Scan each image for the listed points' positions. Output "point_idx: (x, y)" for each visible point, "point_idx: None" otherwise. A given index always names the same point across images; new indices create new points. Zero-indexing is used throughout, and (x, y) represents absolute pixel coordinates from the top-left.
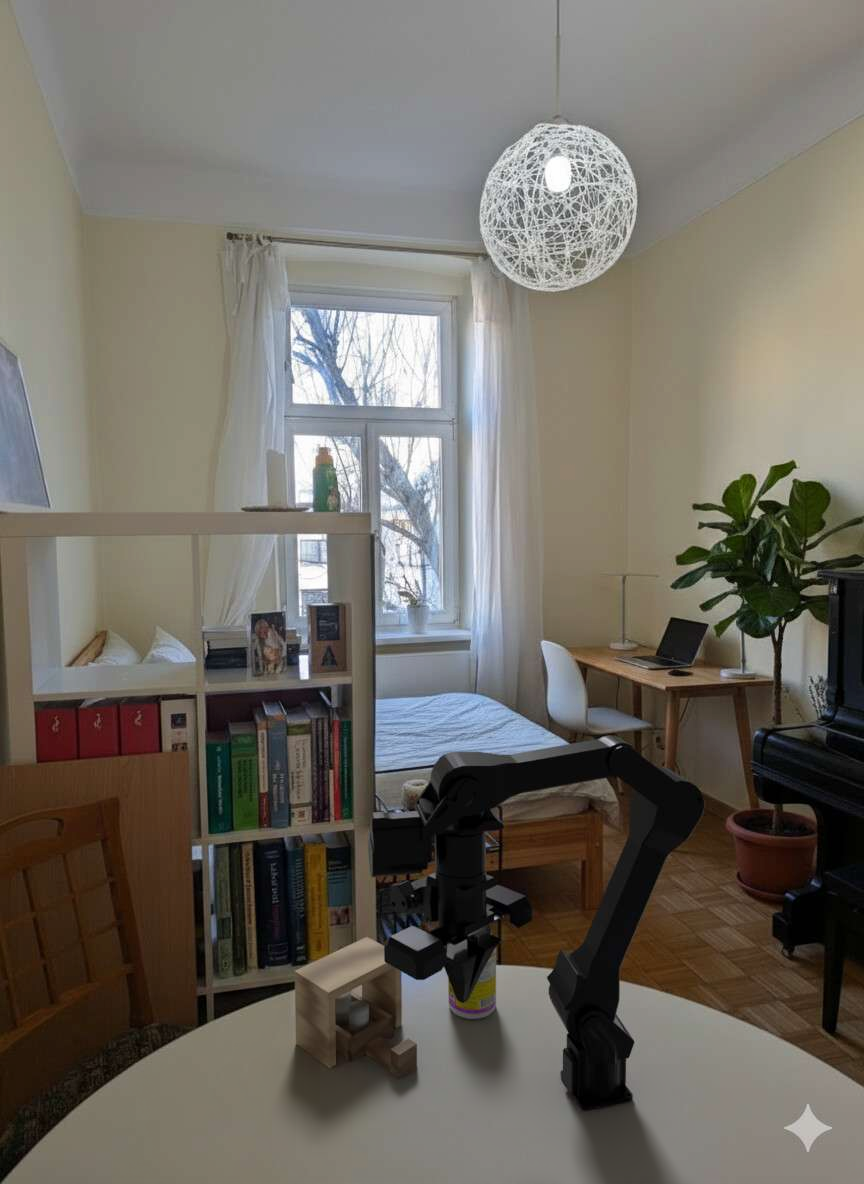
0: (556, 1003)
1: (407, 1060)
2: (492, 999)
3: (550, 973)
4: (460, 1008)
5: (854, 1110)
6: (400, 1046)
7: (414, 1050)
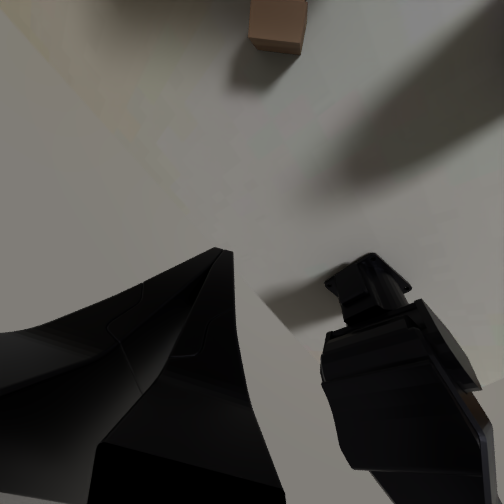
0: (368, 350)
1: (274, 46)
2: None
3: (438, 376)
4: None
5: None
6: (273, 10)
7: (292, 45)
